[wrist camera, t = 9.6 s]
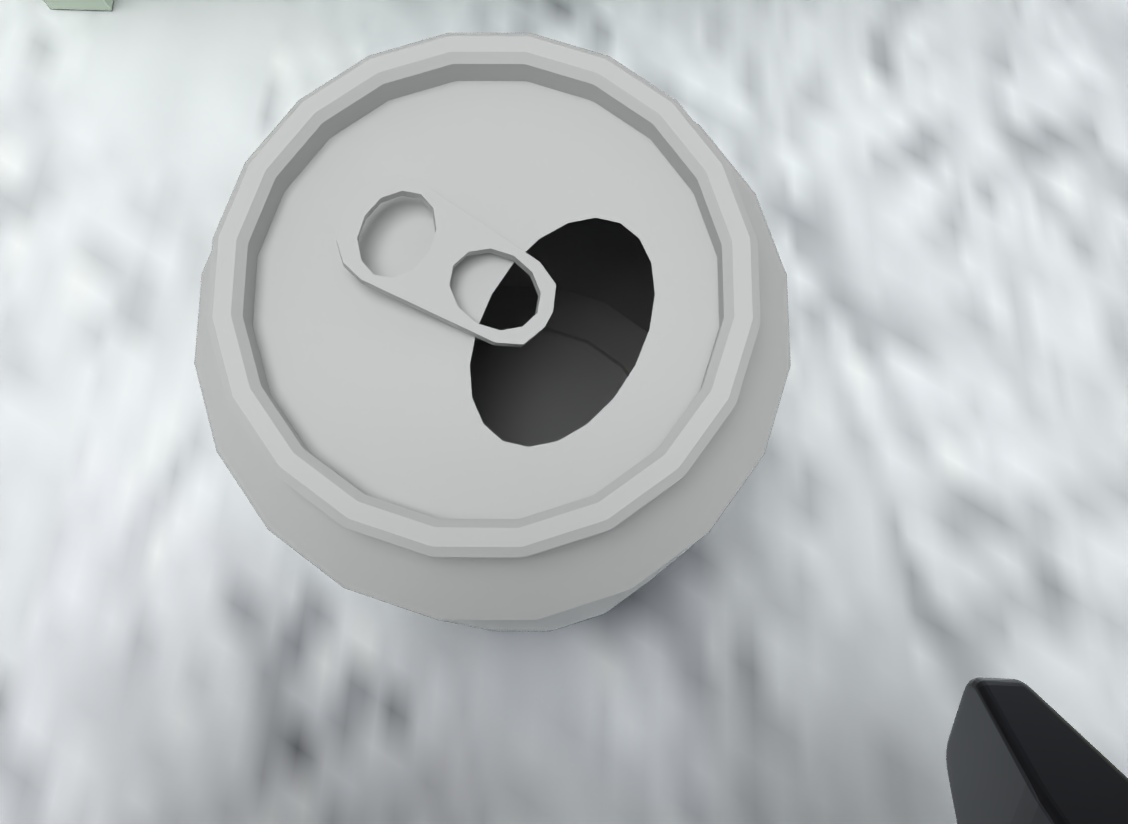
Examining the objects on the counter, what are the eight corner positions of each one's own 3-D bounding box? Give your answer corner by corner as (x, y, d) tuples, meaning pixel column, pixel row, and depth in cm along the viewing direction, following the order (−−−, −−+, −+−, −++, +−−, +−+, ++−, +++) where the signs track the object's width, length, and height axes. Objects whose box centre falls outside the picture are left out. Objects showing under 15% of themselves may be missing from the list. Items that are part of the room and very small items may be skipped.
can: (601, 697, 22) (635, 753, 11) (292, 532, 23) (5, 415, 11) (753, 388, 24) (932, 134, 12) (458, 243, 24) (354, -127, 13)
